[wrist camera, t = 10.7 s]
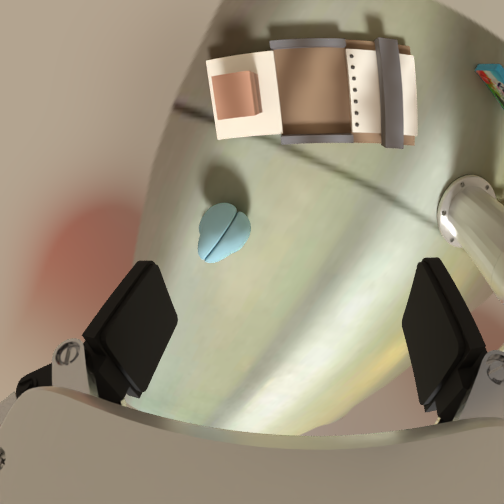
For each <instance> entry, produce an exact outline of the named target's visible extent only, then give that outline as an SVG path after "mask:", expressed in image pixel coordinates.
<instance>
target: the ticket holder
mask: <svg viewBox="0 0 504 504" xmlns="http://www.w3.org/2000/svg"><path fill="white" fill-rule="evenodd" d="M269 42H270V48H271V50H272V51H274V57H275V65H276V73H277V81H278V89H279V98H280V107H281V116H282V126H283V134H282V135H281V143H282V144H300V143H354V142H357V143H381V145H383V146H384V147H385V148H399V149H403V145H414V139H415V136H417V90H416V76H415V65H414V56H412V55H411V54H410V46H404V45H398V41H397V40H395V39H388V38H380V37H378V38H377V39H375V40H374V41H362V40H345V39H341V38H304V39H285V40H273V41H269Z"/></svg>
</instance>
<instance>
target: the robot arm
mask: <svg viewBox="0 0 504 504" xmlns="http://www.w3.org/2000/svg"><path fill="white" fill-rule="evenodd" d="M437 222H438V227H439V230H440V233H441V234H442V236H443V237H444V239H445V240H446V241H447V242H448V243H449V244H451V245H453V246H455V247H459V248H463V249H464V250H465V251H466V253H467V254H468V255H469V257H470V258H471V259H472V261H473V262H474V264H475V265H476V266H477V268H478V269H479V271H480V272H481V274H482V275H483V277H484V278H485V279H486V281H487V283H488V284H489V286H490V287H491V289H492V290H493V292H494V293H495V295H496V296H497V298H498V299H499V301H500V302H501V303H502V304H503V305H504V205H502V204H501V203H500V202H499V201H497V200H496V196H495V193H494V190H493V188H492V187H491V185H490V184H489V183H488V182H487V181H486V180H485V179H483V178H482V177H479V176H477V175H465V176H463V177H460V178H458V179H457V180H455V181H454V182H453V183H452V184H451V185H450V186H449V187H448V188H447V189H446V191H445V192H444V194H443V196H442V198H441V201H440V203H439V207H438V212H437ZM177 322H178V318H177V314H176V312H175V309H174V306H173V304H172V301H171V299H170V296H169V293H168V291H167V288H166V285H165V283H164V280H163V277H162V274H161V272H160V269H159V266H158V265H155V263H154V262H153V261H138V262H137V263H136V264H135V265H134V266H133V268H132V269H131V270H130V271H129V273H128V274H127V275H126V277H125V278H124V279H123V280H122V282H121V283H120V284H119V286H118V287H117V288H116V289H115V291H114V292H113V293H112V295H111V296H110V297H109V298H108V300H107V301H106V303H105V304H104V305H103V306H102V308H101V309H100V311H99V312H98V313H97V315H96V316H95V318H94V319H93V320H92V322H91V323H90V324H89V326H88V327H87V329H86V330H85V331H84V333H83V335H82V336H83V337H84V339H85V340H86V341H85V342H84V343H82V342H81V340H79V339H76V338H74V339H73V338H72V339H68V340H66V341H64V342H62V343H61V344H60V345H59V346H58V347H57V348H56V349H55V352H54V353H53V357H52V363H51V364H49V365H47V366H44V367H42V368H40V369H38V370H36V371H34V372H32V373H29V374H27V375H26V376H24V377H23V378H21V380H20V381H19V383H18V385H17V388H16V393H15V392H13V393H12V394H10V395H9V396H8V397H7V398H6V399H5V400H3V401H2V402H1V403H0V504H504V344H503V345H502V346H501V347H500V348H499V350H493V351H490V352H488V353H487V351H486V348H485V346H486V345H485V343H484V341H483V339H482V336H481V334H480V332H479V330H478V327H477V326H476V323H475V321H474V319H473V317H472V315H471V313H470V311H469V309H468V307H467V305H466V303H465V301H464V299H463V298H462V296H461V294H460V292H459V290H458V288H457V287H456V285H455V283H454V281H453V280H452V278H451V276H450V274H449V273H448V271H447V269H446V268H445V266H444V265H443V263H442V261H441V260H440V259H439V258H424V259H423V260H422V262H419V263H418V265H417V269H416V273H415V277H414V281H413V284H412V288H411V292H410V295H409V299H408V302H407V305H406V309H405V312H404V315H403V318H402V328H403V332H404V335H405V339H406V343H407V347H408V351H409V355H410V359H411V363H412V368H413V372H414V377H415V382H416V387H417V392H418V396H419V402H420V404H421V405H424V409H425V412H430V411H435V410H437V414H438V419H437V421H436V422H435V424H434V425H431V426H425V427H419V428H413V429H406V430H399V431H391V432H382V433H373V434H361V435H345V436H290V435H272V434H260V433H249V432H241V431H233V430H226V429H219V428H213V427H207V426H202V425H196V424H191V423H186V422H182V421H177V420H173V419H168V418H164V417H160V416H156V415H153V414H149V413H145V412H142V411H138V410H135V409H131V408H128V407H127V405H126V402H125V398H124V397H125V395H126V393H127V394H128V395H129V396H133V397H136V398H140V396H141V394H142V392H145V391H146V389H147V388H148V385H149V383H150V381H151V379H152V376H153V374H154V372H155V370H156V368H157V366H158V363H159V361H160V359H161V357H162V355H163V353H164V351H165V348H166V346H167V344H168V342H169V340H170V338H171V336H172V334H173V332H174V329H175V327H176V325H177Z"/></svg>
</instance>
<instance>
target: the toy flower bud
mask: <svg viewBox="0 0 504 504" xmlns="http://www.w3.org/2000/svg"><path fill="white" fill-rule="evenodd" d="M236 212H237V209H236V207H234V206H233V205H231V204H229V203H219V204H216V205H213V206H212V207H210V208H209V209H208V210H207V211H206V212H205V214H204V216H203V217H202V219H201V221H200V225H199V232H200V238H199V242H198V254H199V256H200V258H201V259H202V260H203V259H205V262H208V263H214V262H218V261H220V260H222V259H224V258H225V257H227V256H228V255H230V254H231V253H234V252H237V251H238V250H239V249H241V248H242V246H243V245H244V244H245V242H246V241H247V239H248V237H249V235H250V231H251V226H250V221H249V219H248V217H247V216H246V215H245V214H244V213H242V212H237V213H236Z"/></svg>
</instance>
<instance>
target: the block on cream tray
mask: <svg viewBox="0 0 504 504" xmlns="http://www.w3.org/2000/svg"><path fill="white" fill-rule="evenodd" d="M206 65H207V72H208V78H209V85H210V92H211V99H212V105H213V112H214V119H215V125H216V132H217V138H218V140H220V139H228V138H237V137H247V136H257V135H270V134H283V126H282V116H281V107H280V98H279V89H278V81H277V73H276V65H275V57H274V51H264V52H256V53H248V54H241V55H234V56H228V57H223V58H217V59H212V60H207V61H206Z"/></svg>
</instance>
